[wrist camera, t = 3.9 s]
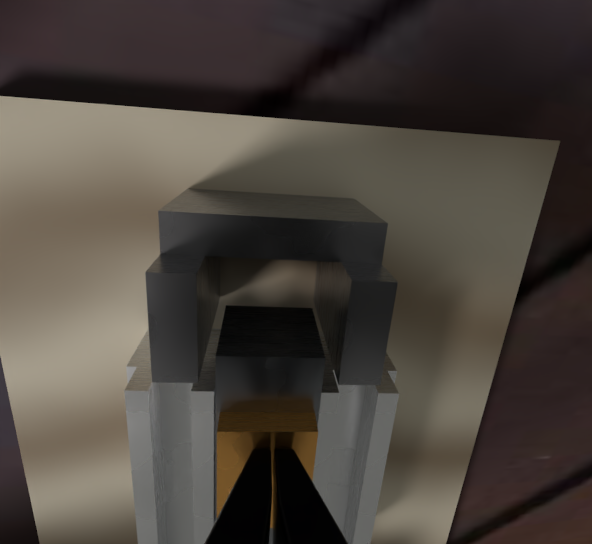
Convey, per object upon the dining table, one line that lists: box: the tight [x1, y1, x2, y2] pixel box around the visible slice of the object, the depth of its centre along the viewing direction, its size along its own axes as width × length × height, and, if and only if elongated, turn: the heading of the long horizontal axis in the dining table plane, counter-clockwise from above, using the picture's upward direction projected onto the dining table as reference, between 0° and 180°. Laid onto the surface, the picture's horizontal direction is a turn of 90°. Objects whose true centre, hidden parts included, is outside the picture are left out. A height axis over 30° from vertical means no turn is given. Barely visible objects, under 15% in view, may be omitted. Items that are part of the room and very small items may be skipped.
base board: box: [0, 96, 560, 544], centre depth 16 cm, size 24×18×2 cm
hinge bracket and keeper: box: [145, 188, 398, 385], centre depth 13 cm, size 20×5×6 cm, turn 176°
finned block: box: [124, 328, 399, 544], centre depth 14 cm, size 10×8×4 cm
